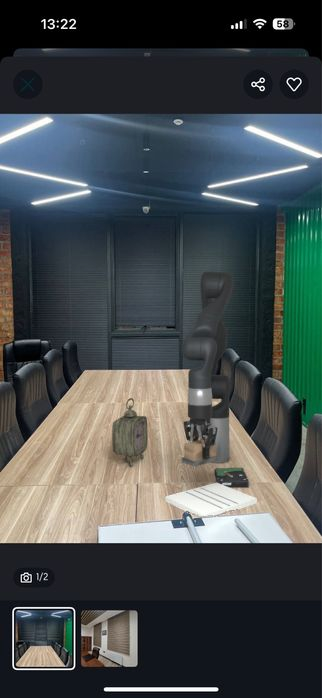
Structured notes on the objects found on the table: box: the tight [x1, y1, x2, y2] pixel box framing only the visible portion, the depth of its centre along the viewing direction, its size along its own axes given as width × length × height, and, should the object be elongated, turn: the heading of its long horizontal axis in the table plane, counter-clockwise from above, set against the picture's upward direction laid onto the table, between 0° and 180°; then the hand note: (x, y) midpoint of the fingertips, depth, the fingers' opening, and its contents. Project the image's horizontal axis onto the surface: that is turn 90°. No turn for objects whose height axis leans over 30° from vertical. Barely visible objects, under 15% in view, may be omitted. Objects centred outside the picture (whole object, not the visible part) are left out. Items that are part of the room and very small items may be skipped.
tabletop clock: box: [111, 397, 149, 468], centre depth 193 cm, size 14×9×25 cm, turn 160°
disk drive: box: [214, 467, 250, 489], centre depth 172 cm, size 10×3×15 cm
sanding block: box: [181, 439, 218, 467], centre depth 155 cm, size 10×6×6 cm, turn 127°
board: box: [164, 482, 258, 516], centre depth 152 cm, size 18×21×2 cm
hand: (200, 456), depth 155 cm, fingers closed on sanding block, 4 cm apart
